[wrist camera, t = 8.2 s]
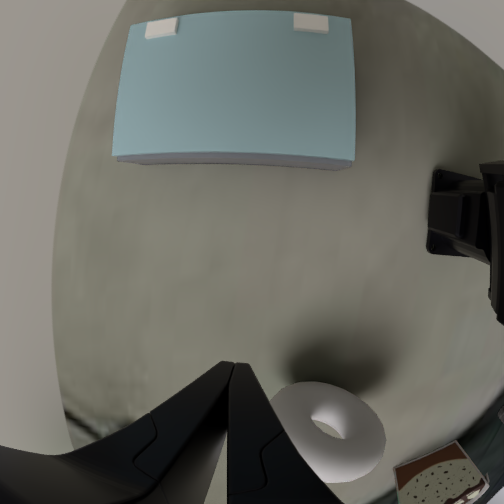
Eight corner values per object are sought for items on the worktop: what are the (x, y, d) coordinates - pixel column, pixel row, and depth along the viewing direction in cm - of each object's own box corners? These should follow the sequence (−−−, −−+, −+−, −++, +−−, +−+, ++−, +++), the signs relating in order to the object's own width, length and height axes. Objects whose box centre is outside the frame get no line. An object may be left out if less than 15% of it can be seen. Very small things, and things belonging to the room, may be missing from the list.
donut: (376, 386, 22) (410, 467, 13) (357, 412, 23) (380, 493, 13) (275, 358, 22) (273, 453, 13) (260, 388, 23) (251, 480, 13)
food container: (381, 489, 26) (394, 541, 17) (382, 471, 25) (398, 530, 16) (457, 457, 25) (480, 502, 15) (464, 435, 24) (493, 483, 14)
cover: (348, 23, 13) (351, 15, 12) (351, 161, 15) (356, 159, 14) (134, 28, 14) (128, 22, 13) (116, 156, 16) (108, 155, 15)
